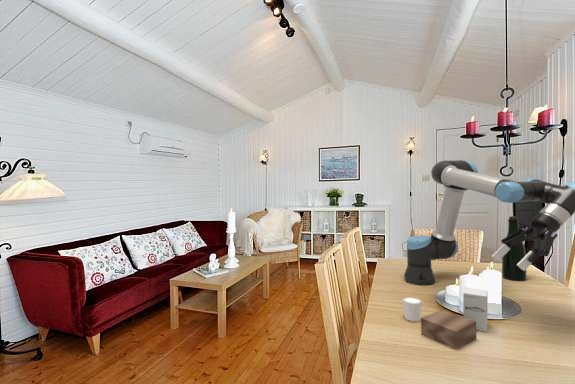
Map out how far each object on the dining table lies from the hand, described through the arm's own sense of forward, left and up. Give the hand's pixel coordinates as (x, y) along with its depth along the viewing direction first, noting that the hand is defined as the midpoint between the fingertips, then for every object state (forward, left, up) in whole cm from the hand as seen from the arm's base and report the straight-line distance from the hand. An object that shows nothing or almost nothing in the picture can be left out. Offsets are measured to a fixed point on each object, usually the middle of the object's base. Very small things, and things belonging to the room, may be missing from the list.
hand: (506, 263), depth 109 cm
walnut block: (-9, -23, -23) cm, 34 cm away
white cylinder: (-25, -20, -23) cm, 39 cm away
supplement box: (-7, -8, -23) cm, 25 cm away
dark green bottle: (-20, +66, -23) cm, 72 cm away
